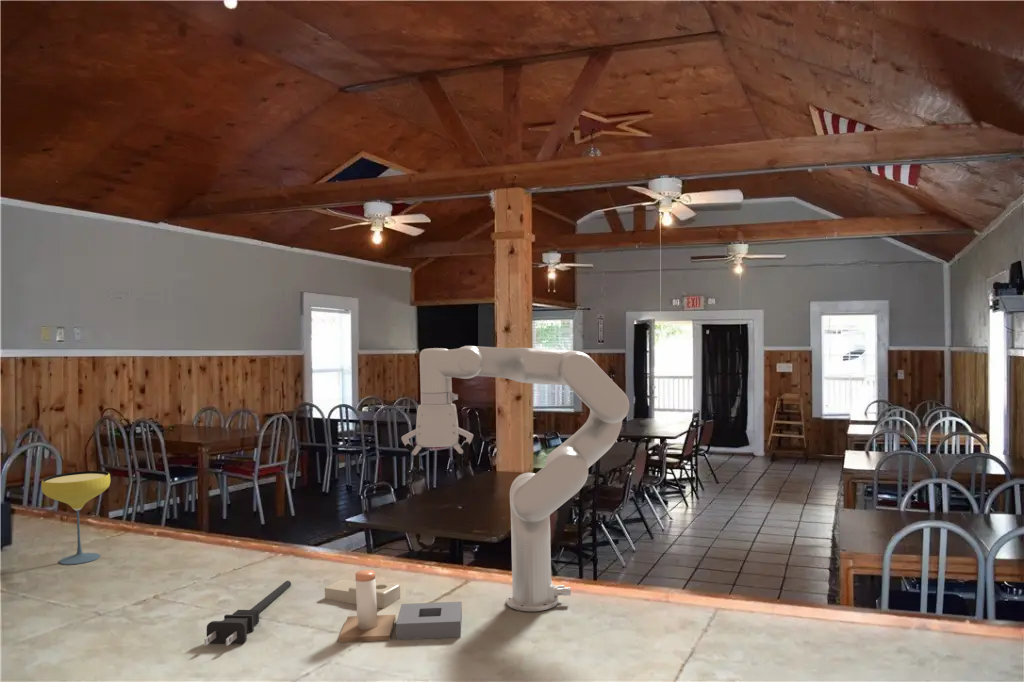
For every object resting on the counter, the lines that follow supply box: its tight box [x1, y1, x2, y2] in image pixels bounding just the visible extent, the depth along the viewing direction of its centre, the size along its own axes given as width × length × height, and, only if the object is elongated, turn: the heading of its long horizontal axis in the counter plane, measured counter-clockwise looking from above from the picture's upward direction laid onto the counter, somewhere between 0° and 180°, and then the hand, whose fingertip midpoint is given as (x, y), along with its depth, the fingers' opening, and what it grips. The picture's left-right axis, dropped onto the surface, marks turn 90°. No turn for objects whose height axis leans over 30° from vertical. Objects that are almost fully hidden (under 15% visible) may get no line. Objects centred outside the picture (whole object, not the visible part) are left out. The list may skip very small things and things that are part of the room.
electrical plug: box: [203, 580, 292, 647], centre depth 188 cm, size 9×42×5 cm, turn 175°
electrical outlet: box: [324, 578, 401, 609], centre depth 198 cm, size 7×4×18 cm
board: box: [338, 614, 396, 643], centre depth 178 cm, size 11×12×1 cm
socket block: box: [395, 601, 463, 641], centre depth 178 cm, size 14×12×4 cm
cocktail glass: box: [41, 470, 111, 566], centre depth 236 cm, size 18×18×25 cm
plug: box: [354, 569, 378, 629], centre depth 178 cm, size 4×4×12 cm
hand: (438, 470), depth 190 cm, fingers open, 9 cm apart
